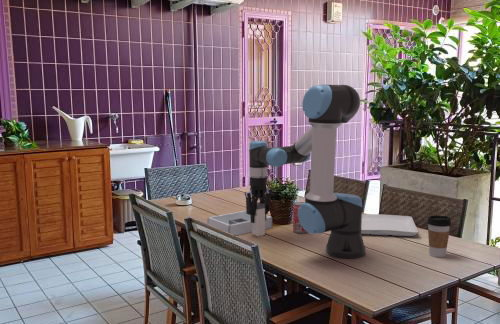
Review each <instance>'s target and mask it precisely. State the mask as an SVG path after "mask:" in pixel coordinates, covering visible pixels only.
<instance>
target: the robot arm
mask: <svg viewBox="0 0 500 324" xmlns="http://www.w3.org/2000/svg"><path fill="white" fill-rule="evenodd" d="M301 105H302V111H303V112H304V115H305V116H306V117H307V118H308V125H310V127H309V128H308V129H307V130H306V131H305V132H304V133H303V134H302V135H301V137H299V138H298V139H297V140H296V141H295V142H294V143H293V144H292V145H288V146H287V145H286V146H277V147H273V146H272V147H270V146H268V143H267V141H265V140H252V141H250V143H249V150H248V151H249V154H248V155H249V156H248V157H249V185H250V186H249V187H250V188H249V191H248V192H247V191H245V192H244V197H245V207H246V210H245V211H246V213H247V214H249V215H250V219H251V223H252V230H255V231H256V230H257V216H256V215H255V213H256V207H257V206H256V205H257V202H258V201H259V202H260V203H264V204H265V220H266V215H268V214H269V212H271V200H272V199H271V195H272V192H273V190H272V189H270V188H267V185H268V177H267V175H268V167H267V166H271V167H273V168H276V167H278V168H279V167H283V166H284V165H289V164H290V165H291V164H302V163H306V162H308V161H309V160H310V174H309V175H310V176H309V179H310V180H309V191H308V193H306V194H305V198H304V202H305V203H304V204H302V205H301V206H300V207H299V209H298V218H299V222H300V224H301V225H302V227H303V228H304V230H305V231H307V233H309V234H311V235H315V234H316V235H317V234H323V233H326V232H327V233H328V232H330V233H329V237H328V241H327V243H326V246H325V252H326V254H327V255H330V256H331V257H333V258H334V257H335V258H339V259H358V258H361V257H364V256H365V255H366V245H364V240H363V234H361V225H362V214H363V200H362V198H361V197H360V196H359V195H355V194H352V193H344V192H342V193H341V192H334V185H335V183H334V181H335V163H336V146H337V130H338V128H339V127H341V125H342V124H347V123H348V122H350V121H351V119H353V118H354V117H355V115H356V114H357V113H358V111H359V109H360V106H361V97H360V95H359V92H358V91H357V90H356V89H355V88H354V87H352V86H350V85H347V84H326V83H325V84H316V85H312V86H311V87H309V88H308V90H307V91H305V94H304V95H303V98H302V104H301Z"/></svg>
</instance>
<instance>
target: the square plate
mask: <svg viewBox="0 0 500 324" xmlns="http://www.w3.org/2000/svg"><path fill="white" fill-rule="evenodd" d="M370 234H371V236H388V235H392V236H391V237H413V236H415V235H417V234H419V230H418V227H417V225H416V224H415V221H414V219H413V217H412V216H409V215H408V216H407V215H399V214H398V215H395V214H381V213H380V214H379V213H378V214H377V213H376V214H375V213H374V214H373V213H372V214H371V213H368V214H367V213H365V214H364V213H362V225H361V235H369V236H370Z"/></svg>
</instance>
